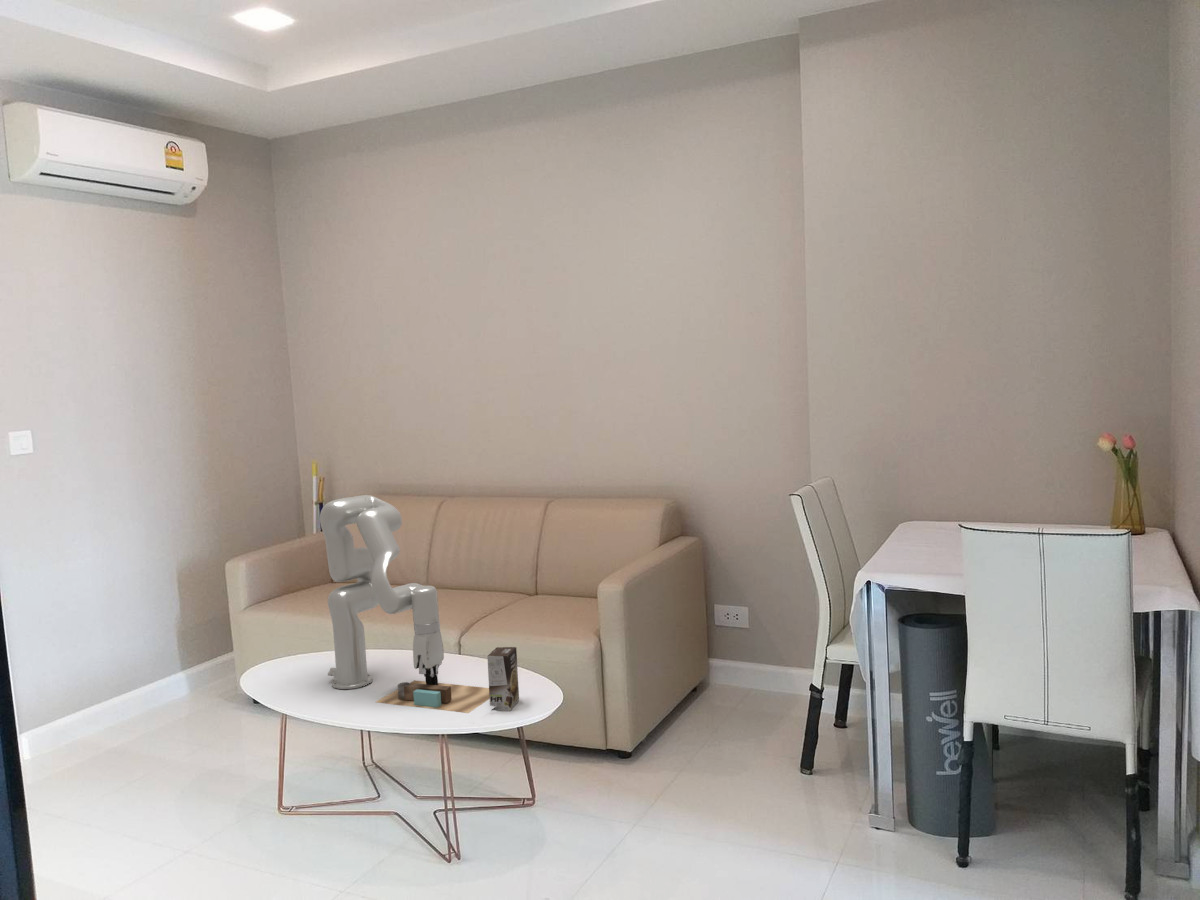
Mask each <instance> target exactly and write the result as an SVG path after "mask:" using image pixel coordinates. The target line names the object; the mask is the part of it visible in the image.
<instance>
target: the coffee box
mask: <svg viewBox="0 0 1200 900" xmlns="http://www.w3.org/2000/svg"><path fill="white" fill-rule="evenodd" d="M517 653H518V651H517V647H516V646H510V647H509V646H504V647H502V646H501V647H500V646H499V647H495V649H493V650H492V651H491V652H490V653H489V654H488V655H487V673H488V674H487V675H488V676H487V677H488V688H489V697H490V699H489V706H491V707H492V706H493V708H492V709H491V711H500V710H501V712H502V711H503V712H504V711H505V712H511V710H512V709H513V708H514V707H515V706H516V704H517V703H518V702H519V701H520V691H519V671H518V655H517Z"/></svg>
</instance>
